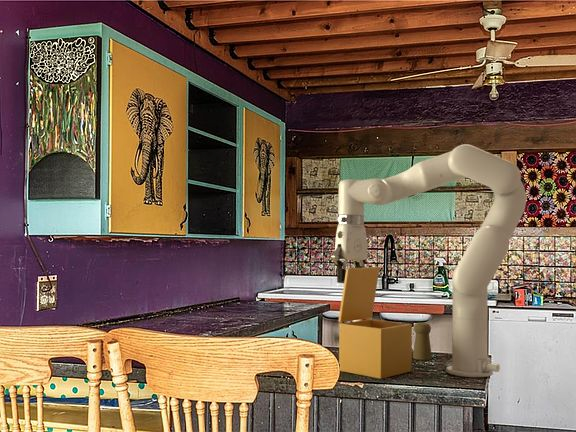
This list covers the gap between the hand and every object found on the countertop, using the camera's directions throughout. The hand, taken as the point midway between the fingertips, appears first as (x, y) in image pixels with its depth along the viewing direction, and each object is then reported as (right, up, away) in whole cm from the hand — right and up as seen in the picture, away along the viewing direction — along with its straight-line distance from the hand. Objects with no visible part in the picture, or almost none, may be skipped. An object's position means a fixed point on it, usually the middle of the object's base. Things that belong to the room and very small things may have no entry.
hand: (349, 281), depth 201 cm
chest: (+7, -24, -7) cm, 26 cm away
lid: (+3, -3, -3) cm, 5 cm away
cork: (+24, -25, +14) cm, 37 cm away
